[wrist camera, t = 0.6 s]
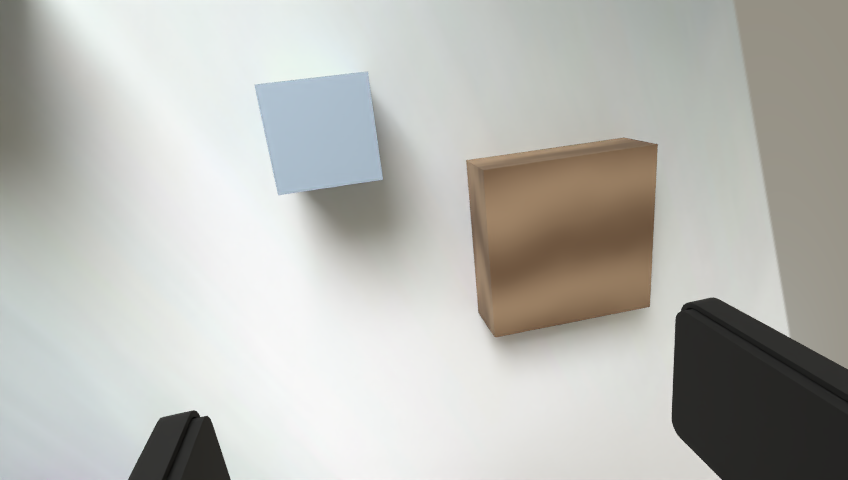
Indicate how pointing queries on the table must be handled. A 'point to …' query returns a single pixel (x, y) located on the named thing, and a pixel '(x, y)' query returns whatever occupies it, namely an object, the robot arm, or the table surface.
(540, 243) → the walnut block
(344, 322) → the table surface
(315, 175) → the slate block
